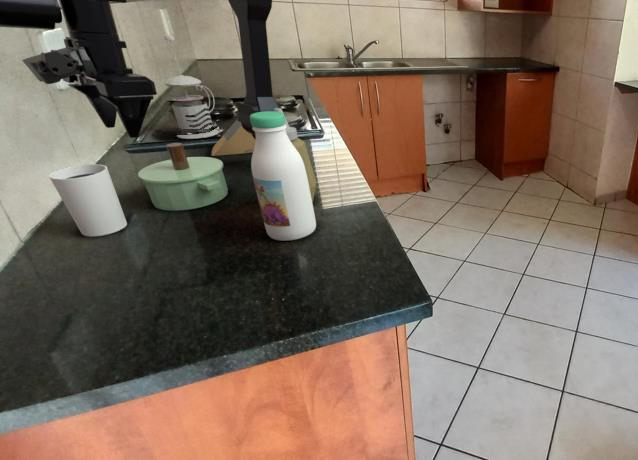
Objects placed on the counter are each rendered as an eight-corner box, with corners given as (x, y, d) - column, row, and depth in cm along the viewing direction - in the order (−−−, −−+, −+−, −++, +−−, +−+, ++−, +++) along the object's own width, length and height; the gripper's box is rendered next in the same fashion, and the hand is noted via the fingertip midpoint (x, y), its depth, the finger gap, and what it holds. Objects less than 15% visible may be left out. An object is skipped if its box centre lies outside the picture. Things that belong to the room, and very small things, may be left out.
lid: (197, 157, 88) (189, 131, 85) (239, 170, 83) (231, 142, 80) (124, 177, 77) (112, 147, 75) (167, 192, 73) (155, 161, 70)
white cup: (139, 218, 74) (117, 164, 69) (113, 237, 68) (87, 179, 64) (96, 219, 73) (71, 164, 68) (66, 238, 67) (36, 179, 63)
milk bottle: (306, 216, 78) (284, 106, 68) (324, 232, 73) (303, 115, 64) (260, 229, 73) (229, 111, 63) (276, 247, 68) (246, 123, 59)
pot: (195, 178, 91) (187, 153, 88) (250, 196, 84) (243, 170, 82) (130, 198, 81) (119, 170, 78) (187, 219, 75) (176, 190, 72)
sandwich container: (213, 146, 109) (195, 85, 102) (279, 140, 116) (267, 83, 109) (210, 156, 103) (191, 92, 95) (281, 150, 109) (268, 89, 102)
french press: (167, 135, 115) (133, 34, 103) (207, 125, 125) (180, 32, 113) (195, 140, 112) (163, 37, 100) (233, 130, 122) (208, 35, 110)
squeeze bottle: (302, 213, 79) (282, 116, 70) (264, 207, 80) (240, 111, 71) (328, 196, 86) (312, 106, 77) (292, 191, 87) (273, 102, 78)
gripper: (-2, 23, 64) (36, 127, 70) (42, 33, 55) (80, 151, 62) (95, 28, 73) (120, 121, 79) (145, 38, 64) (169, 140, 71)
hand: (121, 132), depth 72 cm, fingers open, 9 cm apart
